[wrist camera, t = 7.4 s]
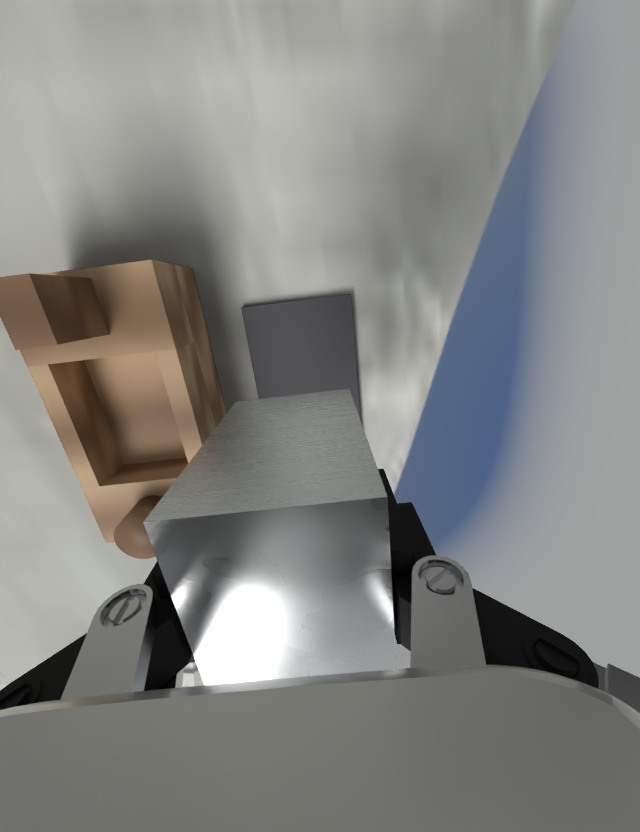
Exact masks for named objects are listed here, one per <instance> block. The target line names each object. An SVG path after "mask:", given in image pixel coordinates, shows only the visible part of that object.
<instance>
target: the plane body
mask: <svg viewBox="0 0 640 832" xmlns="http://www.w3.org/2000/svg"><path fill="white" fill-rule="evenodd" d="M0 317H1V319H2V321H3V323H4V325H5V328H6V330H7V332H8V334H9V337H10V339H11V341H12V343H13V345H14V348H15V350H18V349H20V351H21V354H22V356H23V358H24V360H25V363H26V365H27V367H28V369H29V372H30V374H31V376H32V378H33V381H34V383H35V385H36V387H37V389H38V392H39V394H40V396H41V398H42V401H43V403H44V405H45V407H46V410H47V412H48V414H49V416H50V419H51V421H52V423H53V425H54V427H55V430H56V432H57V434H58V436H59V439H60V441H61V443H62V445H63V448H64V450H65V452H66V454H67V457H68V459H69V461H70V463H71V465H72V468H73V470H74V472H75V474H76V477H77V479H78V481H79V483H80V486H81V488H82V490H83V492H84V495H85V497H86V499H87V501H88V504H89V506H90V508H91V510H92V512H93V515H94V517H95V519H96V521H97V524H98V526H99V528H100V530H101V533H102V535H103V537H104V539H105V542H106V543H108V542H115V543H116V545H117V546H118V547H119V548H120V550H122V551H123V552H124V553H126V554H127V555H129V556H132V557H135V558H140V559H148V558H153V557H155V556H156V555H155V553H154V550H153V547H152V545H151V542H150V539H149V537H148V534H147V531H146V529H145V526H144V523H143V522H144V520H145V519H146V518H147V517H148V515H149V514H150V513H151V511H152V510H153V509H154V507H155V506H156V505H157V504H158V502H159V501H160V500H161V498H162V497H163V496H164V494H165V493H166V492H167V490H168V489H169V488H170V487H171V485H172V484H173V483H174V481H175V480H176V479H177V477H178V476H179V475H180V474H181V472H182V471H183V470H184V468H185V467H186V466H187V464H188V463H189V462H190V461H191V459H192V458H193V457H194V455H195V454H196V453H197V451H198V450H199V449H200V448H201V446H202V445H203V444H204V442H205V441H206V440H207V438H208V437H209V436H210V435H211V433H212V432H213V431H214V429H215V428H216V427H217V425H218V424H219V423H220V421H221V420H222V419H223V418H224V416H225V415H226V410H225V406H224V401H223V397H222V393H221V389H220V384H219V380H218V376H217V372H216V367H215V363H214V359H213V355H212V350H211V346H210V342H209V338H208V333H207V329H206V325H205V321H204V316H203V312H202V308H201V304H200V299H199V295H198V291H197V287H196V282H195V278H194V274H193V270H192V268H189V267H184V266H179V265H175V264H170V263H165V262H160V261H156V260H144V261H137V262H129V263H121V264H114V265H106V266H98V267H91V268H83V269H75V270H68V271H60V272H52V273H44V274H22V275H14V276H6V277H0Z"/></svg>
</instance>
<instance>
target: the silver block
mask: <svg viewBox="0 0 640 832" xmlns="http://www.w3.org/2000/svg"><path fill="white" fill-rule="evenodd" d="M143 523H144V526H145V529H146V531H147V534H148V537H149V539H150V542H151V545H152V547H153V550H154V553H155V555H156V558H157V561H158V563H159V566H160V568H161V571H162V574H163V576H164V579H165V582H166V584H167V587H168V590H169V592H170V595H171V598H172V600H173V603H174V605H175V608H176V611H177V613H178V616H179V619H180V621H181V624H182V627H183V629H184V632H185V635H186V637H187V640H188V642H189V645H190V648H191V650H192V653H193V656H194V658H195V661H196V664H197V666H198V669H199V672H200V674H201V677H202V679H203V682H204V685H214V684H226V683H237V682H248V681H260V680H271V679H283V678H294V677H306V676H318V675H331V674H343V673H355V672H367V671H380V670H392V669H396V655H395V636H394V615H393V595H392V575H391V555H390V535H389V515H388V497H387V494H386V491H385V488H384V485H383V483H382V480H381V477H380V474H379V471H378V468H377V466H376V463H375V460H374V457H373V454H372V452H371V449H370V446H369V443H368V440H367V437H366V435H365V432H364V429H363V426H362V423H361V421H360V418H359V415H358V412H357V409H356V406H355V404H354V401H353V398H352V395H351V392H350V390H349V389H342V390H334V391H325V392H316V393H308V394H299V395H290V396H282V397H273V398H264V399H256V400H247V401H238V402H235V403H234V405H233V406H232V407H231V408H230V410H229V411H228V412H227V414H226V415H225V416H224V418H223V419H222V420H221V421H220V423H219V424H218V425H217V427H216V428H215V429H214V431H213V432H212V433H211V435H210V436H209V437H208V438H207V440H206V441H205V442H204V444H203V445H202V446H201V448H200V449H199V450H198V451H197V453H196V454H195V455H194V457H193V458H192V459H191V461H190V462H189V463H188V464H187V466H186V467H185V468H184V470H183V471H182V472H181V474H180V475H179V476H178V477H177V479H176V480H175V481H174V483H173V484H172V485H171V487H170V488H169V489H168V490H167V492H166V493H165V494H164V496H163V497H162V498H161V500H160V501H159V502H158V504H157V505H156V506H155V507H154V509H153V510H152V511H151V513H150V514H149V515H148V517H147V518H146V519H145V520H144V522H143Z"/></svg>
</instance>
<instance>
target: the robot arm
mask: <svg viewBox="0 0 640 832" xmlns="http://www.w3.org/2000/svg"><path fill="white" fill-rule="evenodd" d="M378 471H379V474H380V477H381V480H382V483H383V485H384V488H385V491H386V494H387V497H388V515H389V535H390V555H391V575H392V595H393V615H394V632H395V636H396V640H397V644H402V645H403V646H404V647H405V648H407V649H408V650H409V651H411V663H410V668H406V669H392V670H380V671H367V672H355V673H343V674H331V675H318V676H306V677H294V678H283V679H271V680H260V681H248V682H237V683H226V684H214V685H203V686H192V687H182V685H183V668H184V667H185V666H187V665H188V664H189V663H193V662H196V661H195V658H194V656H193V653H192V650H191V648H190V645H189V642H188V640H187V637H186V635H185V632H184V629H183V627H182V624H181V621H180V619H179V616H178V613H177V611H176V608H175V605H174V603H173V600H172V598H171V595H170V592H169V590H168V587H167V584H166V582H165V579H164V576H163V574H162V571H161V568H160V566H159V563H158V561H157V563H156V564H155V566H154V568H153V569H152V571H151V573H150V574H149V576H148V578H147V579H146V581H145V583H144V584H137V585H132V586H129V587H126V588H124V589H121V590H120V591H118V592H116V593H115V594H113V595H112V596H110V597H109V598H108V599H107V600H106V601H105V602H104V603H103V604H102V605H101V606H100V607H99V608H98V610H97V612H96V614H95V615H94V617H93V620H92V622H91V625H90V627H89V630H88V632H87V633H86V634H85V635H83V636H82V637H80V638H79V639H77V640H76V641H74V642H73V643H71V644H70V645H68V646H67V647H65V648H63V649H62V650H60V651H59V652H57V653H56V654H54V655H53V656H51V657H50V658H48V659H47V660H45V661H44V662H42V663H41V664H39V665H38V666H36V667H34V668H33V669H31V670H30V671H28V672H27V673H25V674H24V675H22V676H21V677H19V678H18V679H16V680H15V681H13V682H12V683H10V684H9V685H7V686H6V687H5V688H3V689H2V690H1V691H0V832H640V678H639V677H637V676H635V675H632V674H630V673H628V672H626V671H623V670H621V669H619V668H617V667H615V666H613V665H610V664H608V665H607V668H604V667H602V666H600V665H598V664H595V663H593V662H592V661H591V659H590V658H589V657H588V655H587V654H586V653H585V652H584V651H583V650H582V649H581V648H580V647H579V646H578V645H577V644H576V643H575V642H573V641H572V640H570V639H569V638H567V637H565V636H564V635H562V634H560V633H558V632H557V631H554V630H553V629H551V628H549V627H547V626H545V625H543V624H541V623H539V622H537V621H535V620H533V619H531V618H529V617H527V616H525V615H524V614H522V613H520V612H518V611H516V610H514V609H512V608H510V607H508V606H506V605H504V604H502V603H500V602H498V601H497V600H495V599H493V598H491V597H489V596H487V595H485V594H483V593H481V592H479V591H477V590H475V589H473V588H472V585H471V580H470V577H469V574H468V572H467V571H466V570H465V569H464V567H463V566H461V565H460V564H459V563H458V562H456V561H454V560H452V559H450V558H448V557H443V556H439V555H436V554H435V552H434V549H433V547H432V545H431V543H430V541H429V539H428V536H427V534H426V532H425V530H424V528H423V526H422V523H421V521H420V519H419V517H418V515H417V513H416V510H415V508H414V506H413V504H412V503H411V502H408V503H399V504H397V503H396V500H395V497H394V495H393V492H392V490H391V487H390V484H389V482H388V479H387V477H386V474H385V471H384V469H378Z"/></svg>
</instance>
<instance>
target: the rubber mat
mask: <svg viewBox="0 0 640 832" xmlns="http://www.w3.org/2000/svg"><path fill="white" fill-rule="evenodd" d="M241 309H242V314H243V319H244V324H245V329H246V335H247V340H248V345H249V350H250V355H251V360H252V366H253V371H254V376H255V381H256V386H257V391H258V397H259V399H264V398H273V397H282V396H290V395H299V394H308V393H316V392H325V391H334V390H342V389H349V390H350V392H351V395H352V398H353V401H354V404H355V406H356V409H357V412H358V415H359V418H360V421H361V417H360V404H359V391H358V378H357V365H356V352H355V339H354V326H353V313H352V300H351V294H346V295H338V296H330V297H322V298H314V299H306V300H298V301H290V302H282V303H274V304H266V305H258V306H250V307H242V308H241Z"/></svg>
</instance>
